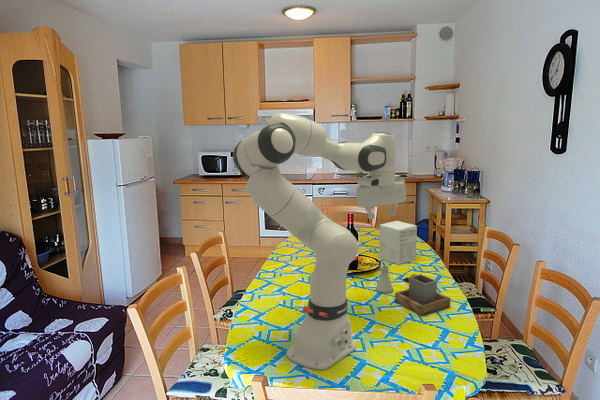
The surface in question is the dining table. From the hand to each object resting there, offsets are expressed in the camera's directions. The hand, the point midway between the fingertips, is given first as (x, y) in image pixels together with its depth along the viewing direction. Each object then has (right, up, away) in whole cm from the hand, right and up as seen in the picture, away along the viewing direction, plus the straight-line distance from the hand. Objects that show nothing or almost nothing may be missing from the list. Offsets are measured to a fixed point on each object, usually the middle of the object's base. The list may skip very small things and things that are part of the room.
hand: (381, 216), depth 145 cm
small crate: (+16, -32, +6) cm, 37 cm away
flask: (+5, -31, +20) cm, 37 cm away
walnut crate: (+17, -33, +7) cm, 38 cm away
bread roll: (+21, -30, +28) cm, 46 cm away
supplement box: (+19, -24, +57) cm, 64 cm away
